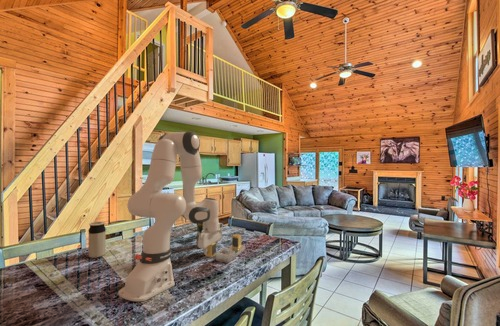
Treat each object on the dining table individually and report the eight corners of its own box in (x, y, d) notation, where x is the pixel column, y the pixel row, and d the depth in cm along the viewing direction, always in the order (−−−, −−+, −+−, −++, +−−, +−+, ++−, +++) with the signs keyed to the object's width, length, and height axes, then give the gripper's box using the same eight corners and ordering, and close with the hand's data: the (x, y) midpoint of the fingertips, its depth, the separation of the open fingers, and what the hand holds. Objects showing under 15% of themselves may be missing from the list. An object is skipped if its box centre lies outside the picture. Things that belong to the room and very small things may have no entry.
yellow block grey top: (212, 257, 134) (212, 244, 134) (205, 256, 135) (205, 243, 135) (216, 255, 137) (216, 242, 137) (209, 253, 139) (209, 241, 139)
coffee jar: (208, 242, 158) (208, 214, 158) (214, 246, 152) (214, 216, 151) (194, 245, 153) (194, 215, 152) (199, 249, 146) (199, 218, 146)
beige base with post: (228, 263, 127) (228, 245, 126) (215, 260, 129) (215, 243, 129) (245, 249, 147) (245, 234, 147) (233, 247, 150) (234, 232, 150)
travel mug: (95, 258, 130) (95, 225, 130) (85, 256, 133) (85, 224, 133) (108, 253, 138) (108, 221, 138) (98, 251, 140) (98, 220, 140)
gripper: (205, 232, 126) (205, 258, 126) (224, 223, 144) (224, 246, 145) (195, 230, 128) (194, 257, 128) (215, 222, 147) (214, 244, 147)
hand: (210, 251), depth 136 cm, fingers open, 8 cm apart
